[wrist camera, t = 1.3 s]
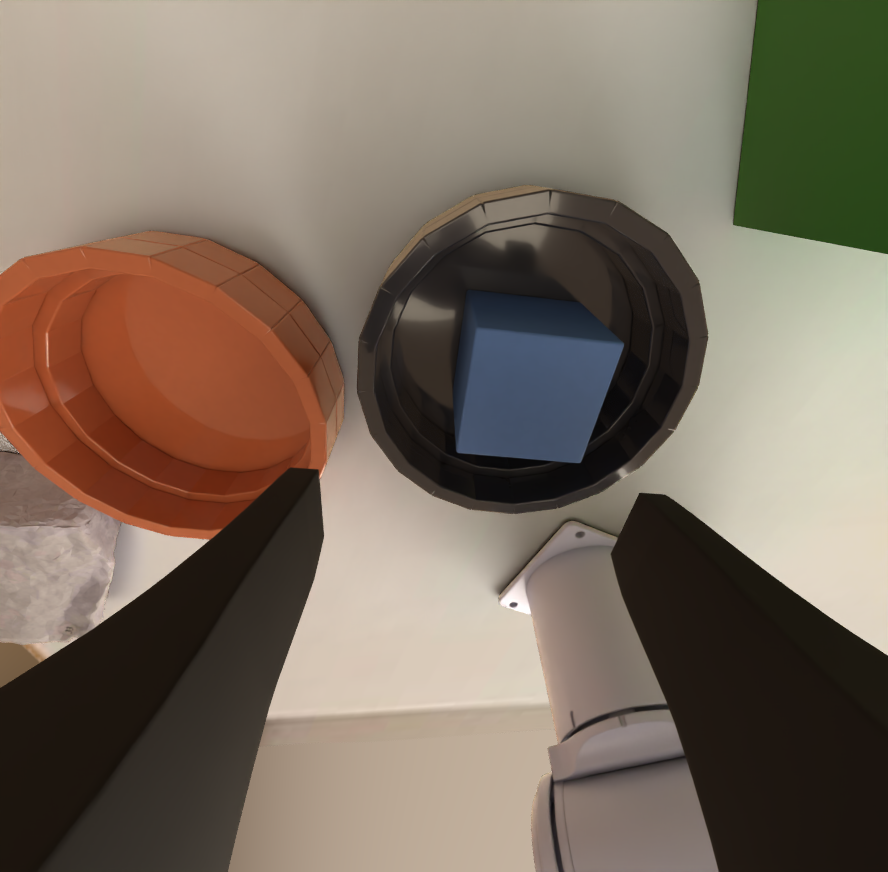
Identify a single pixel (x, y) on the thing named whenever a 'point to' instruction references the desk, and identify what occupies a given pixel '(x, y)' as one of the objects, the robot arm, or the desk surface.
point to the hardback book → (818, 123)
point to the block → (530, 376)
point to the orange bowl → (163, 379)
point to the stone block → (50, 558)
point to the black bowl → (543, 276)
